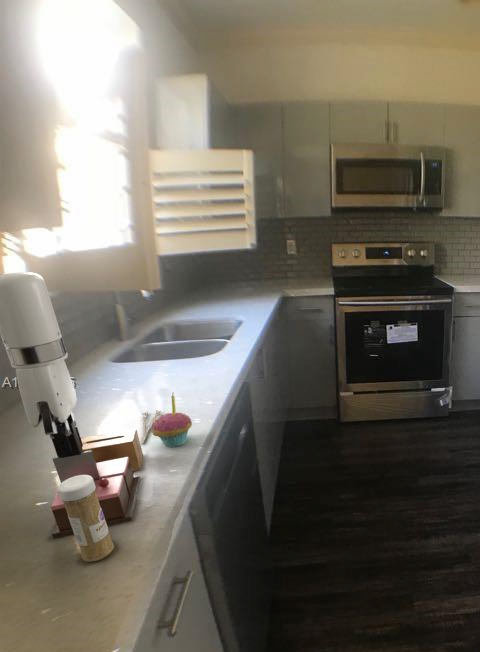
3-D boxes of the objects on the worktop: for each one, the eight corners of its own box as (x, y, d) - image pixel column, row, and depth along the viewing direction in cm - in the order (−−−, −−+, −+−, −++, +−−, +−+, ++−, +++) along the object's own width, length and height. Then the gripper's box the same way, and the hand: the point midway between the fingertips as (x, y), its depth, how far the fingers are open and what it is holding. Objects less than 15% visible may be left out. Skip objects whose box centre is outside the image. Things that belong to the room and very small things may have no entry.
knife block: (80, 481, 93) (70, 451, 90) (87, 466, 98) (78, 438, 96) (140, 470, 96) (132, 441, 94) (143, 456, 102) (136, 428, 99)
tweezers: (143, 415, 122) (141, 409, 121) (162, 412, 123) (160, 406, 122) (133, 450, 107) (131, 443, 106) (155, 446, 108) (153, 439, 107)
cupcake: (178, 431, 113) (167, 386, 108) (203, 437, 109) (193, 391, 105) (147, 447, 105) (135, 399, 101) (173, 454, 102) (162, 406, 97)
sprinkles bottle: (116, 554, 73) (93, 483, 68) (82, 567, 71) (57, 494, 66) (112, 539, 76) (91, 470, 71) (81, 550, 74) (56, 480, 69)
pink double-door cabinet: (53, 538, 77) (39, 501, 74) (73, 492, 89) (62, 460, 87) (131, 520, 81) (121, 485, 78) (140, 479, 93) (132, 447, 90)
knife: (65, 498, 82) (39, 429, 76) (67, 494, 83) (42, 425, 78) (102, 490, 84) (80, 422, 78) (104, 486, 85) (83, 418, 80)
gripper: (26, 342, 79) (58, 437, 86) (-11, 371, 65) (31, 480, 72) (76, 337, 81) (103, 429, 88) (50, 363, 68) (85, 470, 74)
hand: (70, 451), depth 80 cm, fingers closed on knife, 1 cm apart
